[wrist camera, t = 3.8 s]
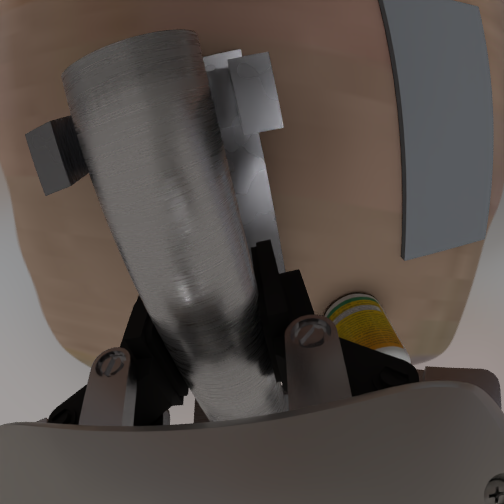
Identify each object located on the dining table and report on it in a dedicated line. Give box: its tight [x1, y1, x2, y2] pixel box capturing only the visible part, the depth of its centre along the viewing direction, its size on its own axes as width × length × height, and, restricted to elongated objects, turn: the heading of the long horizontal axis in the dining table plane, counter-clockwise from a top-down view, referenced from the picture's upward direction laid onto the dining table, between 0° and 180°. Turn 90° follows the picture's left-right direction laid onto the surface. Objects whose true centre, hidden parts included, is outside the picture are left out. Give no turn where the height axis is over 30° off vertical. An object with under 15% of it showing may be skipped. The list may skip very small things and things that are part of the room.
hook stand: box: [25, 49, 289, 423], centre depth 15 cm, size 18×6×13 cm, turn 11°
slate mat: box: [379, 0, 493, 261], centre depth 18 cm, size 20×9×1 cm, turn 11°
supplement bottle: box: [325, 294, 411, 364], centre depth 22 cm, size 5×5×10 cm
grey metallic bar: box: [61, 30, 287, 422], centre depth 9 cm, size 16×3×3 cm, turn 11°
